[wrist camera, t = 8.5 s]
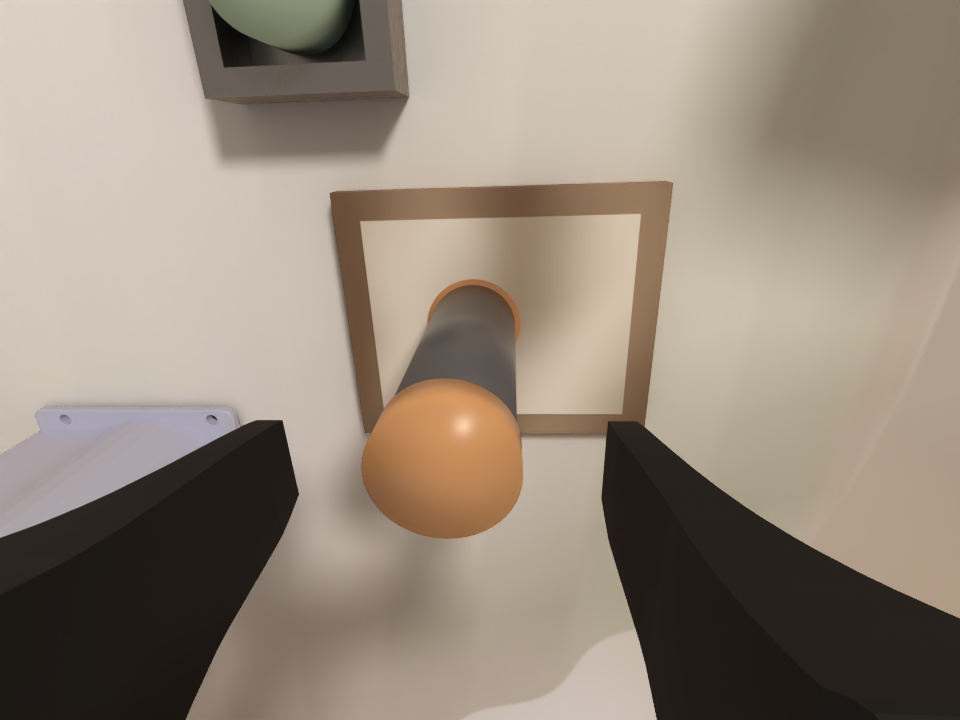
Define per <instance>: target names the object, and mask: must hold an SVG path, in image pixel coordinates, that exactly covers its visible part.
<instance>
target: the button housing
mask: <svg viewBox="0 0 960 720" xmlns="http://www.w3.org/2000/svg"><path fill="white" fill-rule="evenodd" d="M183 2H184V7H185V11H186V15H187V20H188V24H189V29H190V33H191V37H192V42H193V46H194V51H195V55H196V59H197V64H198V68H199V73H200V77H201V81H202V86H203V90H204V95H205V99H212V100H218V101H224V102H231V103H237V104H256V103H279V102H302V101H325V100H348V99H371V98H394V97H409V89H408V76H407V64H406V51H405V39H404V26H403V14H402V1H401V0H355V4H354V10H353V14H352V18H351V21H350V23H349V25H348V28H347V29H346V31H345V33H344V34H343V36H342V37H341V38H340V39H339V41H338V42H336V43H335V44H334V45H333V46H332V47H330V48H329V49H327V50H325V51H323V52H321V53H318V54H315V55H308V56H305V55H295V54H291V53H288V52H285V51H283V50H280V49H278V48H276V47H273V46H271V45H268V44H266V43H264V42H261V41H259V40H257V39H254V38H252V37H249V36H247V35H245V34H243V33H241V32H239V31H238V30H236V29H235V28H233V27H232V26H231V25H230V24H228V23H227V22H226V21H225V20H224V19H223V18H222V17H221V16H220V15H219V14H218V13H217V11H216V10H215V9H214V8H213V6H212V5H211V3H210V2H209V0H183Z"/></svg>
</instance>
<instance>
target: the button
mask: <svg viewBox="0 0 960 720" xmlns="http://www.w3.org/2000/svg"><path fill="white" fill-rule="evenodd" d="M209 2H210V3H211V5H212V6H213V8H214V9H215V10H216V11H217V13H218V14H219V15H220V16H221V17H222V18H223V19H224V20H225V21H226V22H227V23H228V24H230V25H231V26H232V27H233V28H235V29H236V30H238V31H239V32H241V33H243V34H245V35H247V36H249V37H252V38H254V39H257V40H259V41H261V42H264V43H266V44H268V45H271V46H273V47H276V48H278V49H280V50H283V51H285V52H288V53H291V54H295V55H305V56H308V55H315V54H318V53H321V52H323V51H325V50H327V49H329V48H330V47H332V46H333V45H334V44H335V43H336V42H338V41H339V39H340V38H341V37H342V36H343V34H344V33H345V31H346V29H347V28H348V25H349V23H350V21H351V18H352V14H353V10H354V4H355V0H209Z"/></svg>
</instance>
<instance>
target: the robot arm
mask: <svg viewBox="0 0 960 720" xmlns="http://www.w3.org/2000/svg"><path fill="white" fill-rule="evenodd" d="M211 415H213V416H215V417H216V418H217V420H215V419H213V418H212V416H211ZM35 418H36V421H37V423H38V425H39V427H40V430H41V431H39V432H37V433H36V434H34V435H32V436H31V437H29V438H27V439H26V440H24V441H22V442H21V443H19V444H17V445H16V446H14V447H12V448H11V449H9V450H7V451H6V452H4V453H2V454H1V455H0V720H186V717H187V715H188V713H189V710H190V708H191V706H192V703H193V701H194V699H195V697H196V694H197V692H198V690H199V688H200V686H201V684H202V681H203V679H204V677H205V675H206V673H207V671H208V668H209V666H210V664H211V662H212V660H213V658H214V655H215V653H216V651H217V649H218V647H219V645H220V644H221V642H222V640H223V638H224V636H225V634H226V632H227V630H228V628H229V627H230V625H231V623H232V622H233V620H234V618H235V616H236V615H237V613H238V611H239V610H240V608H241V606H242V604H243V603H244V601H245V599H246V598H247V596H248V594H249V592H250V591H251V589H252V587H253V586H254V584H255V582H256V580H257V579H258V577H259V575H260V574H261V572H262V570H263V568H264V567H265V565H266V563H267V561H268V560H269V558H270V556H271V554H272V553H273V551H274V549H275V547H276V546H277V544H278V542H279V540H280V538H281V537H282V535H283V533H284V530H285V528H286V526H287V523H288V521H289V519H290V516H291V514H292V511H293V508H294V506H295V503H296V501H297V498H298V495H299V493H298V488H297V484H296V479H295V475H294V470H293V466H292V461H291V457H290V452H289V448H288V443H287V439H286V434H285V430H284V425H283V421H282V420H256V421H253V422H251V423H248V424H246V425H244V426H241V427H240V424H239V421H238V417H237V414H236V412H235V411H234V410H233V409H231V408H229V407H224V406H47V407H43V408H41V409H40V410H38V411H37V412H36V413H35ZM602 504H603V510H604V516H605V522H606V528H607V533H608V539H609V543H610V546H611V550H612V553H613V556H614V560H615V563H616V566H617V570H618V573H619V576H620V580H621V583H622V586H623V589H624V593H625V596H626V599H627V602H628V606H629V609H630V612H631V615H632V619H633V622H634V625H635V628H636V632H637V635H638V638H639V641H640V645H641V649H642V653H643V657H644V661H645V664H646V668H647V673H648V679H649V683H650V688H651V693H652V698H653V703H654V708H655V712H656V717H657V720H960V618H957V617H955V616H953V615H950V614H948V613H946V612H944V611H941V610H939V609H937V608H935V607H932V606H930V605H928V604H926V603H923V602H921V601H919V600H917V599H914V598H912V597H910V596H908V595H905V594H903V593H901V592H899V591H897V590H894V589H892V588H890V587H888V586H886V585H884V584H882V583H880V582H878V581H875V580H874V579H871V578H869V577H867V576H865V575H863V574H861V573H859V572H857V571H855V570H853V569H852V568H850V567H847V566H846V565H844V564H842V563H840V562H838V561H836V560H834V559H832V558H830V557H829V556H827V555H825V554H823V553H821V552H819V551H817V550H815V549H814V548H812V547H810V546H808V545H806V544H805V543H803V542H801V541H799V540H798V539H796V538H794V537H792V536H791V535H789V534H788V533H786V532H784V531H783V530H781V529H779V528H778V527H776V526H775V525H773V524H771V523H770V522H768V521H766V520H765V519H763V518H762V517H760V516H758V515H757V514H755V513H754V512H752V511H751V510H749V509H748V508H746V507H745V506H743V505H742V504H740V503H739V502H738V501H736V500H735V499H733V498H732V497H731V496H729V495H728V494H727V493H725V492H724V491H722V490H721V489H720V488H718V487H717V486H715V485H714V484H713V483H711V482H710V481H709V480H708V479H706V478H705V477H704V476H702V475H701V474H700V473H699V472H697V471H696V470H695V469H693V468H692V467H691V466H690V465H689V464H687V463H686V462H685V461H684V460H682V459H681V458H680V457H679V456H678V455H676V454H675V453H674V452H673V451H672V450H671V449H669V448H668V447H667V446H666V445H665V444H664V443H662V442H661V441H660V440H659V439H658V438H657V437H655V436H654V435H653V434H652V433H651V432H650V431H648V430H647V429H646V428H645V427H644V426H642V425H641V424H640V423H639V422H637V421H608V426H607V438H606V450H605V462H604V474H603V486H602Z"/></svg>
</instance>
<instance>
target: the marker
mask: <svg viewBox="0 0 960 720" xmlns="http://www.w3.org/2000/svg"><path fill="white" fill-rule="evenodd" d="M361 468H362V477H363V481H364V485H365V487H366V490H367V492H368V494H369V496H370V498H371V499H372V501H373V502H374V504H375V505H376V506H377V508H378V509H379V510H380V511H381V512H382V513H383V514H384V515H385V516H387V517H388V518H389V519H390V520H392V521H393V522H395V523H396V524H398V525H399V526H401V527H403V528H405V529H407V530H409V531H412V532H414V533H417V534H421V535H424V536H429V537H434V538H446V539H448V538H461V537H467V536H471V535H475V534H478V533H481V532H483V531H486V530H487V529H489V528H491V527H493V526H495V525H496V524H497V523H499V522H500V521H501V520H502V519H504V518H505V517H506V516H507V515H508V513H509V512H510V511H511V510H512V509H513V507H514V505H515V504H516V502H517V500H518V497H519V495H520V492H521V488H522V480H523V468H522V442H521V434H520V430H519V426H518V424H517V402H516V352H515V319H514V315H513V312H512V309H511V307H510V306H509V304H508V303H507V301H506V300H505V299H504V298H503V297H502V296H501V295H500V294H499V293H497V292H496V291H494V290H492V289H490V288H487V287H484V286H479V285H466V286H461V287H458V288H456V289H454V290H452V291H450V292H449V293H447V294H446V295H445V296H444V297H443V298H442V299H441V300H440V302H439V303H438V305H437V307H436V309H435V311H434V313H433V315H432V317H431V319H430V321H429V324H428V326H427V328H426V330H425V332H424V334H423V336H422V338H421V341H420V343H419V345H418V347H417V349H416V351H415V353H414V355H413V358H412V360H411V362H410V364H409V366H408V368H407V370H406V372H405V375H404V377H403V379H402V381H401V383H400V385H399V387H398V389H397V392H396V394H395V396H394V397H393V398H392V399H391V400H390V401H389V403H388V404H387V405H386V406H385V408H384V410H383V411H382V413H381V415H380V417H379V419H378V421H377V423H376V425H375V427H374V429H373V431H372V433H371V435H370V438H369V440H368V442H367V444H366V446H365V449H364V452H363V456H362V466H361Z"/></svg>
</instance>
